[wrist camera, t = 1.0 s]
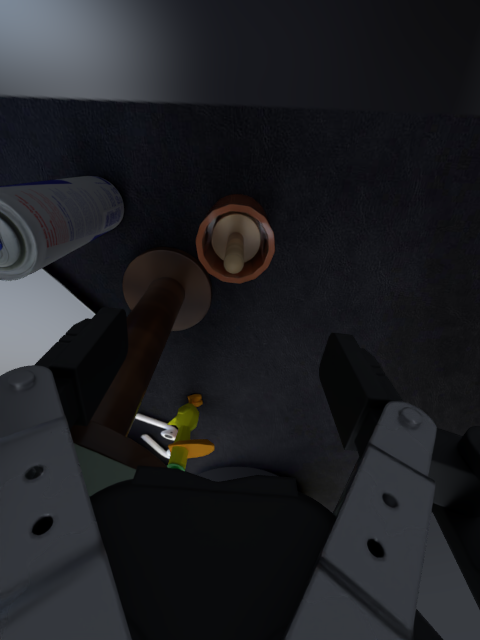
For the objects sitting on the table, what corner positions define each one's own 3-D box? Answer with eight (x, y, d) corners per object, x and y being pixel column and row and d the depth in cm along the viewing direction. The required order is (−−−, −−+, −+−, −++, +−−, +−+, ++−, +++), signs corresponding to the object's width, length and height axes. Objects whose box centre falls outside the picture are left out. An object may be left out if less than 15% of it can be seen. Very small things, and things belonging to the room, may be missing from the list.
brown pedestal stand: (109, 227, 30) (-229, 404, 9) (228, 242, 31) (193, 443, 9) (119, 329, 37) (-65, 582, 15) (218, 340, 37) (182, 598, 15)
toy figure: (217, 387, 41) (207, 466, 31) (221, 406, 43) (213, 486, 32) (171, 392, 42) (146, 470, 31) (176, 409, 43) (155, 489, 33)
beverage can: (69, 174, 28) (-83, 190, 15) (121, 175, 28) (15, 190, 15) (83, 228, 31) (-37, 282, 17) (131, 229, 30) (47, 283, 17)
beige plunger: (216, 201, 29) (201, 227, 18) (262, 207, 29) (273, 236, 18) (213, 247, 31) (197, 293, 20) (255, 252, 31) (261, 301, 21)
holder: (208, 189, 29) (197, 199, 22) (273, 198, 29) (282, 210, 22) (204, 253, 32) (193, 278, 25) (263, 260, 32) (268, 287, 25)
